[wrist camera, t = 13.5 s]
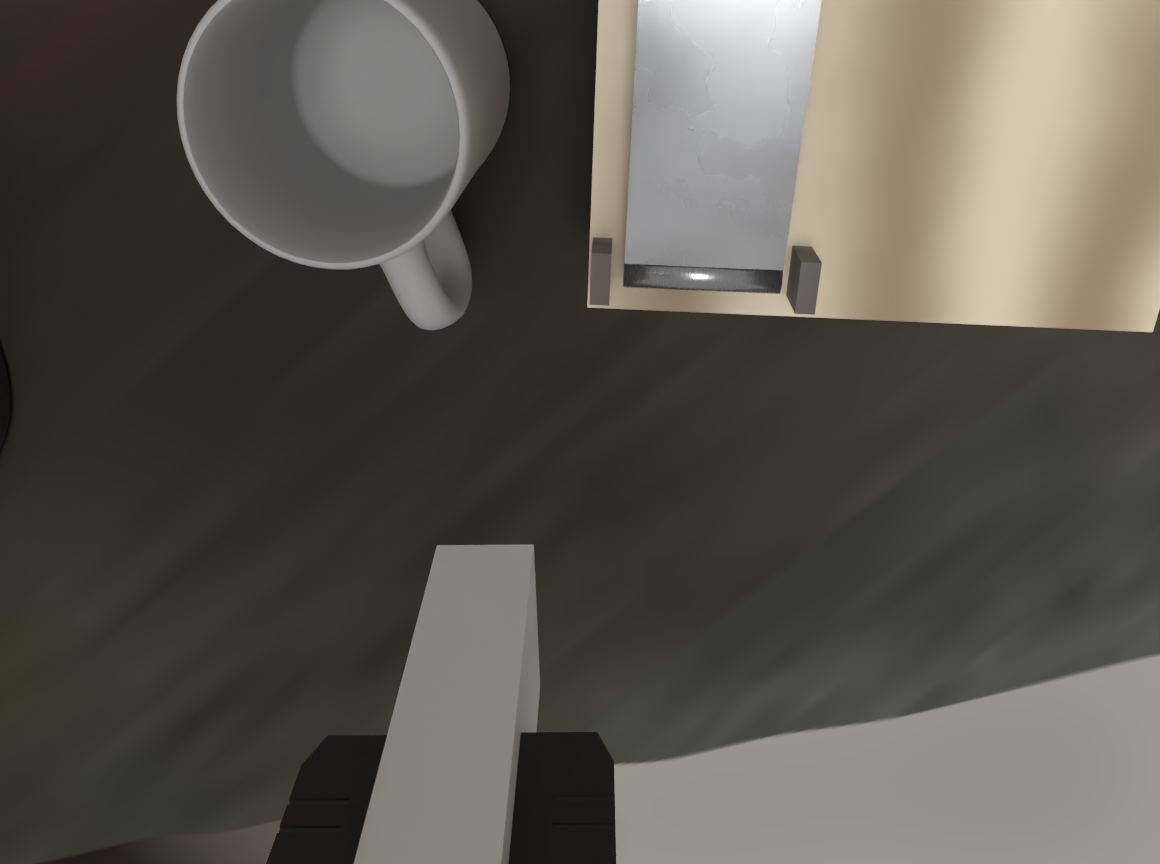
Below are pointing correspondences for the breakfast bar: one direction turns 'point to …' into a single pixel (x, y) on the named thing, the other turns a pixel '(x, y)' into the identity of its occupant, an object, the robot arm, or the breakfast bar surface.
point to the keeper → (716, 141)
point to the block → (941, 167)
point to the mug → (348, 133)
